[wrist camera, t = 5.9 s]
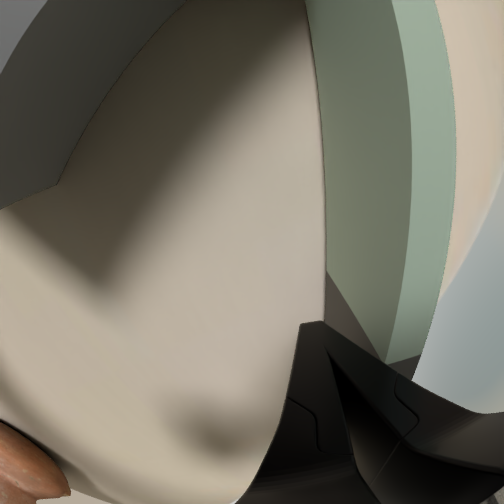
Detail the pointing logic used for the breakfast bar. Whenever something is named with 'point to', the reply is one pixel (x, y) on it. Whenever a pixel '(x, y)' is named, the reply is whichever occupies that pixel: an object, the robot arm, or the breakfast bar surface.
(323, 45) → the side door
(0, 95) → the camera case
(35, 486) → the ceramic jug
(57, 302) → the breakfast bar surface
